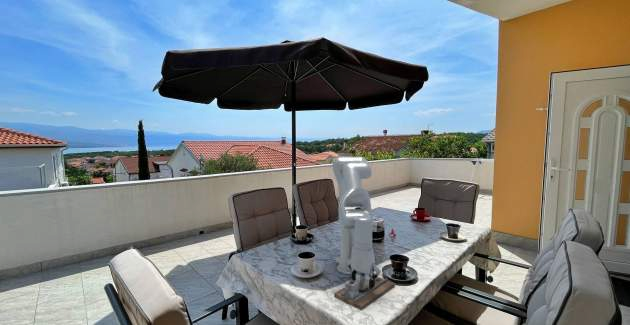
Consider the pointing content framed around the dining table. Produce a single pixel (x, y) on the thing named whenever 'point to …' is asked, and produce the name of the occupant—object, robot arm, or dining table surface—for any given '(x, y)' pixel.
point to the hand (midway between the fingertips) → (362, 283)
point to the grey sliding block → (362, 280)
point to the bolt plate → (363, 292)
